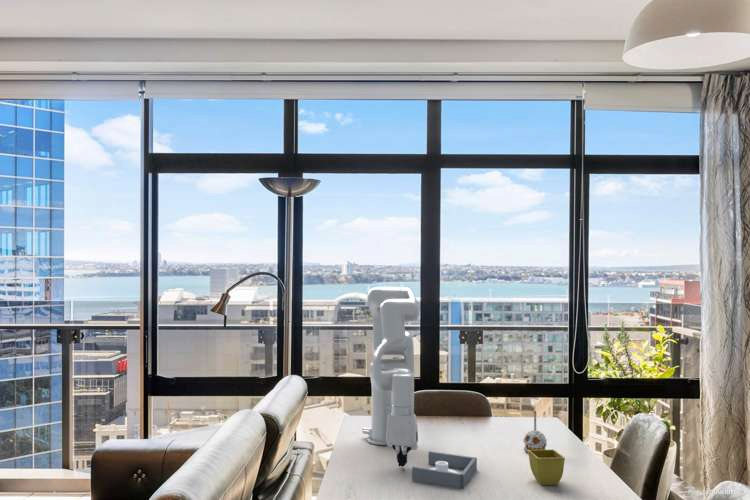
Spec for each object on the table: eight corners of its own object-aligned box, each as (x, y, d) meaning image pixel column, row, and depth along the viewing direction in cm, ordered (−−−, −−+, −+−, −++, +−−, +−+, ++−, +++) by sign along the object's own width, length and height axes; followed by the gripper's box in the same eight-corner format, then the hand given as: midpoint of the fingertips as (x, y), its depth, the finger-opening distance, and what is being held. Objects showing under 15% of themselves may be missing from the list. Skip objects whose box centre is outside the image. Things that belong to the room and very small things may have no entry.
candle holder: (426, 483, 173) (426, 469, 174) (419, 470, 185) (419, 457, 186) (464, 482, 175) (464, 468, 175) (454, 469, 187) (454, 456, 187)
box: (412, 480, 175) (412, 467, 175) (429, 462, 192) (429, 451, 192) (463, 488, 169) (463, 475, 169) (476, 469, 185) (476, 457, 185)
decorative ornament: (520, 452, 205) (520, 411, 205) (530, 447, 210) (530, 407, 211) (540, 457, 199) (540, 414, 200) (550, 452, 205) (549, 411, 206)
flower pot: (527, 477, 179) (527, 449, 179) (554, 477, 179) (553, 448, 180) (538, 488, 170) (537, 458, 170) (565, 487, 171) (565, 457, 171)
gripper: (377, 410, 186) (377, 465, 186) (420, 415, 181) (419, 472, 180) (386, 405, 193) (385, 458, 193) (427, 409, 188) (426, 465, 187)
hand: (402, 465), depth 186 cm, fingers closed
